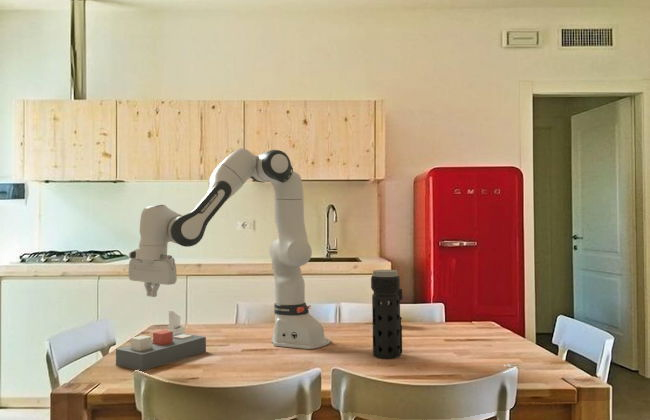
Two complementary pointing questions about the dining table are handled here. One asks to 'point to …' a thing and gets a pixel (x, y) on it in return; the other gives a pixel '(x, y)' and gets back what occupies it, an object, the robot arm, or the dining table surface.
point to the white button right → (182, 336)
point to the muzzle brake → (386, 314)
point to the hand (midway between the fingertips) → (151, 296)
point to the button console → (160, 353)
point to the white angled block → (175, 323)
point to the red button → (162, 337)
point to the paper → (504, 365)
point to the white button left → (141, 343)
